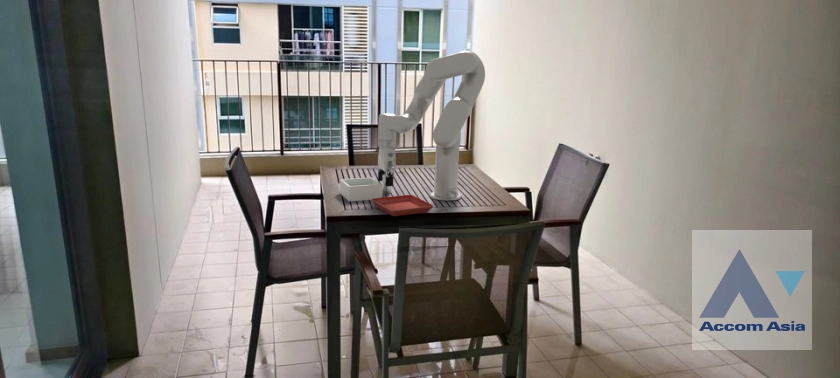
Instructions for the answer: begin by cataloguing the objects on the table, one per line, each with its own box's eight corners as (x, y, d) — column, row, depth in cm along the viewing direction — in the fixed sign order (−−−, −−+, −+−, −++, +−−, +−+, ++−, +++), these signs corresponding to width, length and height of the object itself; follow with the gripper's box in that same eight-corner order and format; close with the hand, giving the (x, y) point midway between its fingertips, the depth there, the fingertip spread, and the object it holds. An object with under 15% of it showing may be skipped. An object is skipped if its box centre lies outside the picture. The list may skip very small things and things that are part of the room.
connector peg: (392, 193, 241) (392, 175, 239) (383, 194, 240) (384, 175, 238) (389, 191, 244) (389, 173, 243) (381, 192, 243) (381, 173, 241)
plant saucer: (434, 213, 215) (434, 205, 214) (391, 219, 206) (391, 210, 205) (411, 202, 230) (411, 194, 229) (370, 207, 221) (370, 198, 220)
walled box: (382, 198, 232) (382, 184, 231) (348, 201, 227) (348, 186, 226) (371, 191, 245) (371, 177, 243) (339, 193, 239) (339, 179, 238)
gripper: (402, 146, 231) (400, 187, 235) (388, 139, 246) (386, 178, 250) (385, 147, 228) (383, 188, 232) (371, 140, 244) (370, 179, 248)
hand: (385, 183), depth 241 cm, fingers open, 9 cm apart
